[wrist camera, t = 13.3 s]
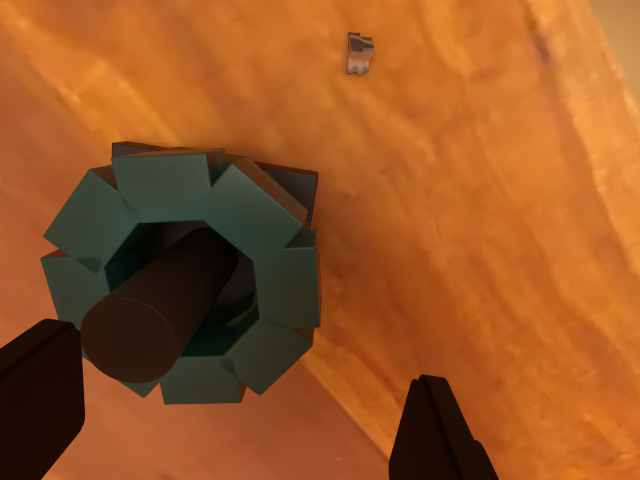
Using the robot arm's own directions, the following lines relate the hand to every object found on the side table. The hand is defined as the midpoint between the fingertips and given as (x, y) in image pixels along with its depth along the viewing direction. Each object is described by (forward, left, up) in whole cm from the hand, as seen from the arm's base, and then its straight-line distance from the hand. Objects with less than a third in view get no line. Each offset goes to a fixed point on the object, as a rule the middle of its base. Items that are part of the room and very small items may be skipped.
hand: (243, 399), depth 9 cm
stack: (+4, 0, -10) cm, 11 cm away
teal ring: (+3, 0, -6) cm, 7 cm away
